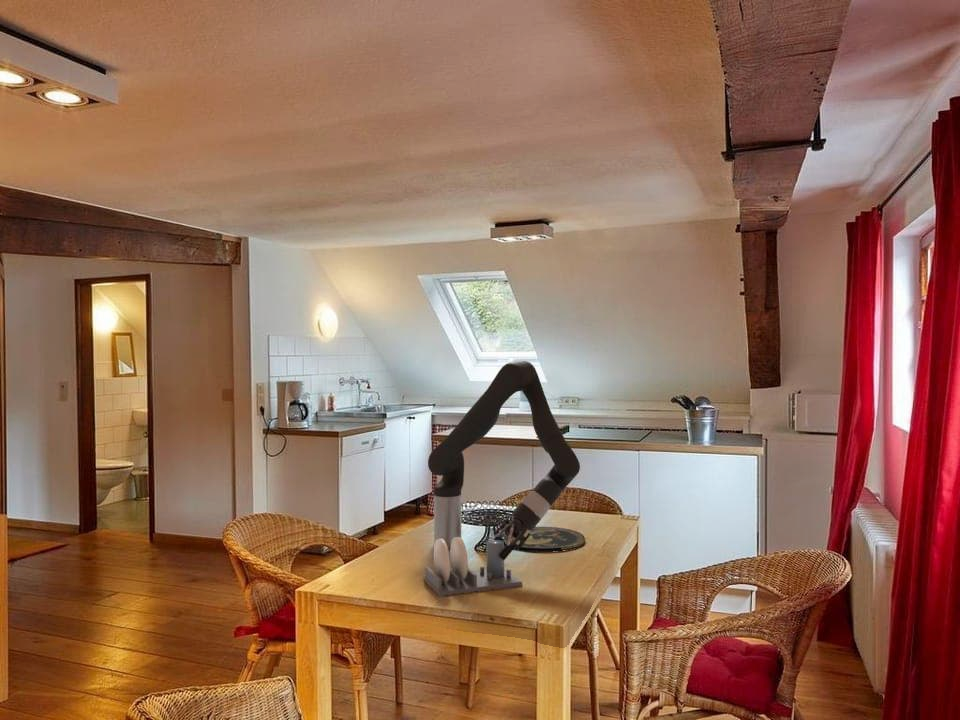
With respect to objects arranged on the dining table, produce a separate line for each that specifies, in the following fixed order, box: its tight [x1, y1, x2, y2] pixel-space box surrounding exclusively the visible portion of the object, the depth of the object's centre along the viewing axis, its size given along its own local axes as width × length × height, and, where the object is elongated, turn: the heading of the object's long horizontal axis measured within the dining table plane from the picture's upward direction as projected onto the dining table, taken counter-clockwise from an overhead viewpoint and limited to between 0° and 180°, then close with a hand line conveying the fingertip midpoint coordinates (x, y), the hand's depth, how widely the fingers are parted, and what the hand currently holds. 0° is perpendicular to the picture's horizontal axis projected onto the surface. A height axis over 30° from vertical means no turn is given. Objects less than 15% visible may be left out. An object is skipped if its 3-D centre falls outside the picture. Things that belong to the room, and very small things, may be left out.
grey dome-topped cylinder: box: [486, 539, 505, 578], centre depth 204 cm, size 5×5×10 cm
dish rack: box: [423, 537, 523, 597], centre depth 202 cm, size 15×24×13 cm, turn 111°
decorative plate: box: [504, 526, 586, 553], centre depth 247 cm, size 30×2×30 cm
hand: (495, 554), depth 204 cm, fingers open, 8 cm apart
